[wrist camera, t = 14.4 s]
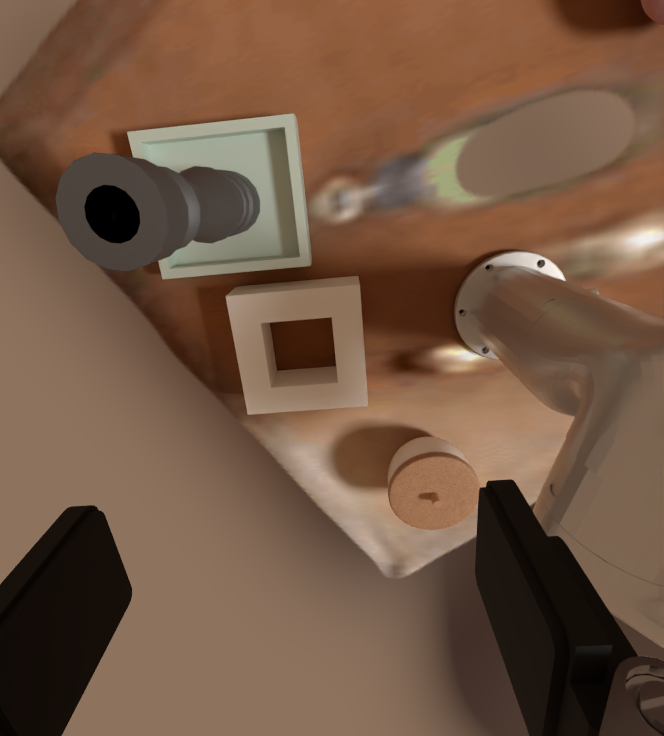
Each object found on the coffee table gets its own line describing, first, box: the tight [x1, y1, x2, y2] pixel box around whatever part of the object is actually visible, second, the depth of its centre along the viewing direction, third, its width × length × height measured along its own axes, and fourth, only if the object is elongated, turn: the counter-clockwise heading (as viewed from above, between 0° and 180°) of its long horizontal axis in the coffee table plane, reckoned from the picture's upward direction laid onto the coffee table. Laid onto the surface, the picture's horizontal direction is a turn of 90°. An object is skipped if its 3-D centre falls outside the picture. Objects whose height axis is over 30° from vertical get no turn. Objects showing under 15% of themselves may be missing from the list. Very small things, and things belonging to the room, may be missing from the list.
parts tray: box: [127, 114, 312, 279], centre depth 44 cm, size 16×14×3 cm
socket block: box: [225, 276, 368, 415], centre depth 49 cm, size 14×14×5 cm
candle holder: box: [55, 153, 260, 271], centre depth 33 cm, size 6×6×25 cm
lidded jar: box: [388, 437, 480, 530], centre depth 53 cm, size 11×11×9 cm
